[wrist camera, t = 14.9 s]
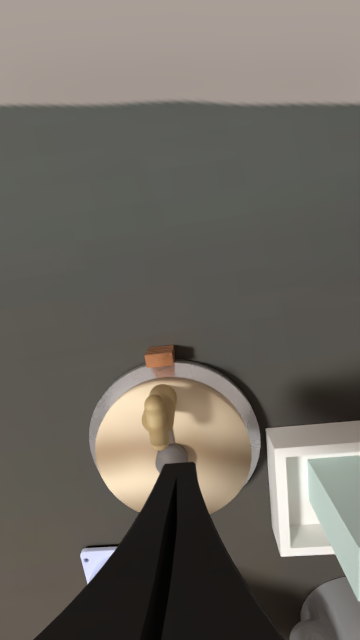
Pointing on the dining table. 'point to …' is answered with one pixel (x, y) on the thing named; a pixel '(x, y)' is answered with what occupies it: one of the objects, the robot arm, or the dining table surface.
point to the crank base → (166, 365)
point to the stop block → (338, 509)
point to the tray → (302, 481)
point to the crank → (173, 440)
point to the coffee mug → (329, 613)
